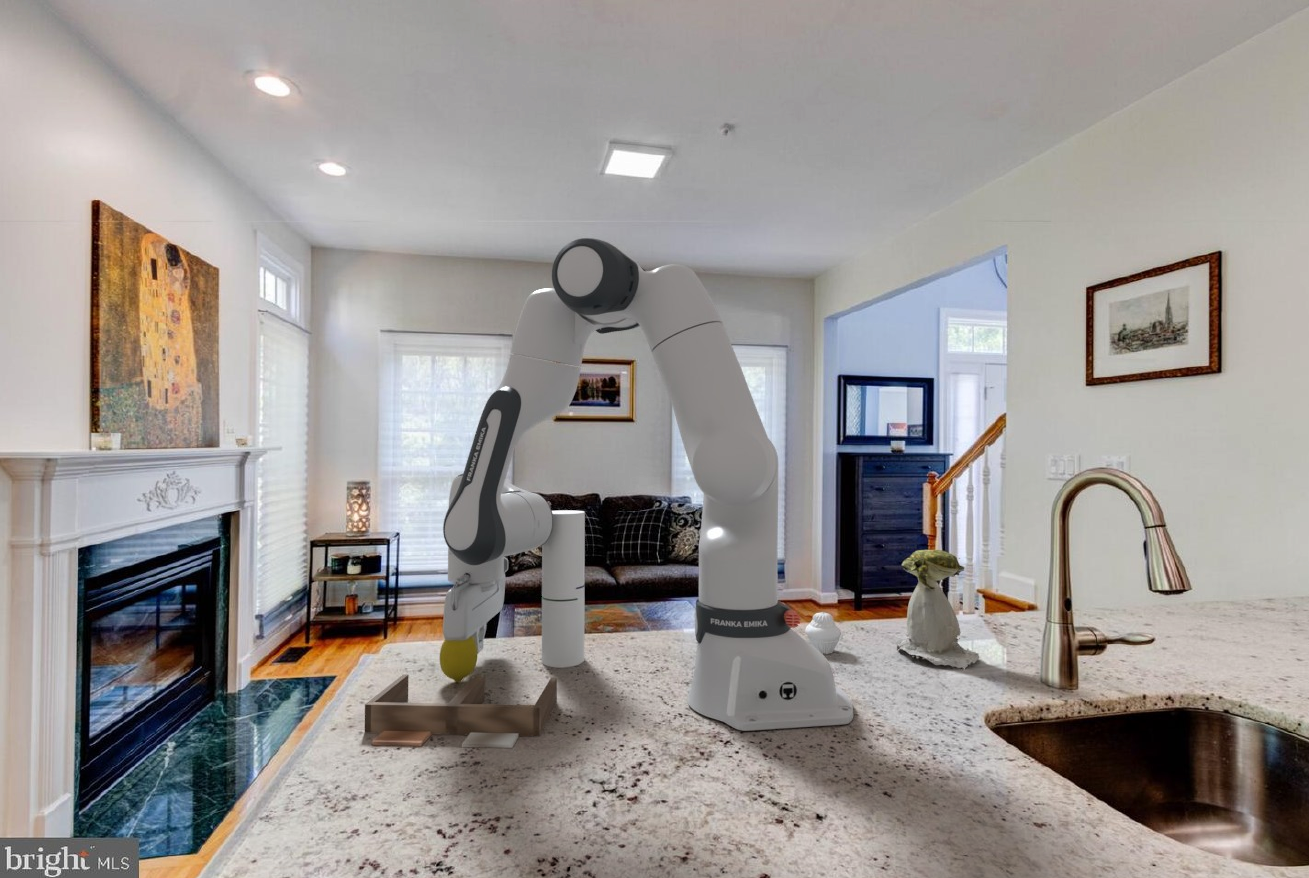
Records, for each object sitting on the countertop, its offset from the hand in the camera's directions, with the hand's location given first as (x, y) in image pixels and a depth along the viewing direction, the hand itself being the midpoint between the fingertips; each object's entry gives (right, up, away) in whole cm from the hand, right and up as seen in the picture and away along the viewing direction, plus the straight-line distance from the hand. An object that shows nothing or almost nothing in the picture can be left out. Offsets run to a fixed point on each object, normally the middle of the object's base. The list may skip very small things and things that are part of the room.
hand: (475, 652), depth 105 cm
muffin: (+59, -3, +8) cm, 60 cm away
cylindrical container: (+14, -2, +3) cm, 15 cm away
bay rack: (+4, -2, -22) cm, 22 cm away
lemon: (0, -2, -8) cm, 8 cm away
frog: (+78, -3, +5) cm, 78 cm away
